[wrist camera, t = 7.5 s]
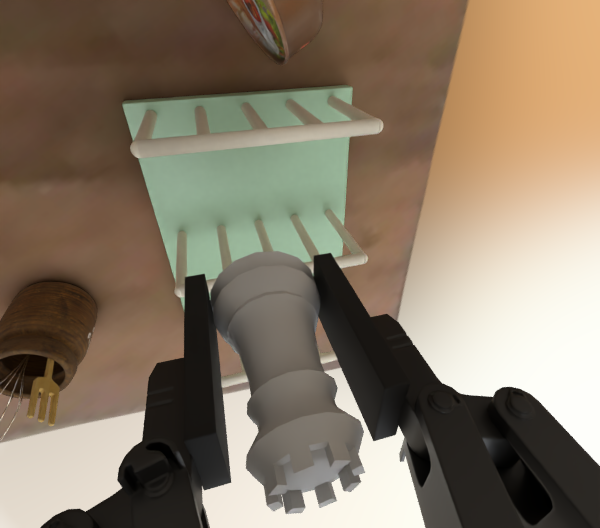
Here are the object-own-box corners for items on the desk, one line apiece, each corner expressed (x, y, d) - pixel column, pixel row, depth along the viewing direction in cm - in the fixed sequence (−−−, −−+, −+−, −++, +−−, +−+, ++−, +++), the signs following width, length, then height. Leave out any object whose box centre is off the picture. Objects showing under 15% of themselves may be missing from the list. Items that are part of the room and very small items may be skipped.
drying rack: (123, 100, 22) (97, 137, 15) (347, 84, 25) (407, 109, 18) (190, 324, 33) (191, 400, 27) (336, 295, 36) (369, 357, 30)
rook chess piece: (272, 338, 17) (322, 532, 10) (188, 306, 14) (186, 531, 8) (332, 272, 15) (433, 450, 9) (250, 224, 13) (308, 419, 7)
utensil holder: (-6, 306, 27) (-107, 460, 18) (56, 263, 26) (-15, 400, 17) (62, 342, 31) (8, 487, 21) (118, 306, 30) (88, 438, 21)
